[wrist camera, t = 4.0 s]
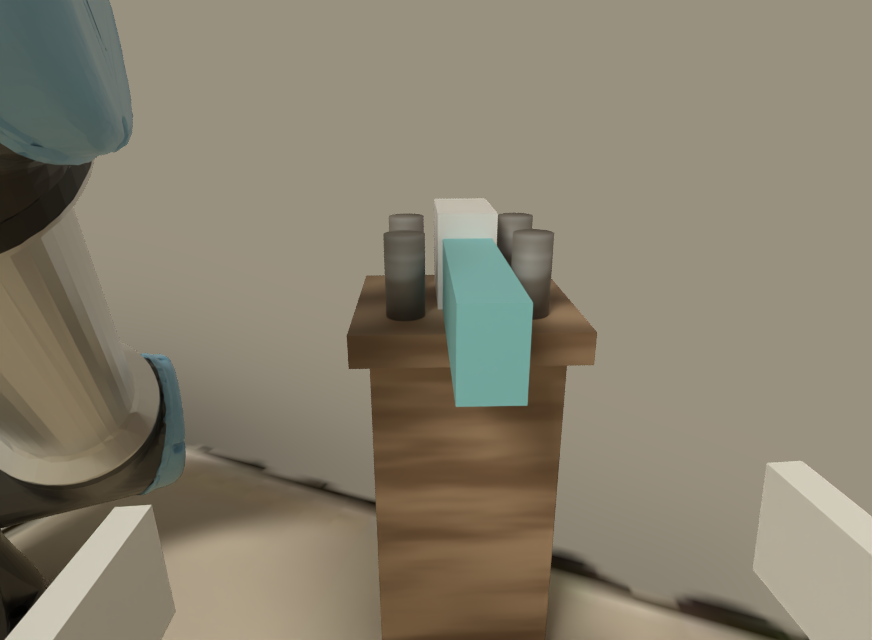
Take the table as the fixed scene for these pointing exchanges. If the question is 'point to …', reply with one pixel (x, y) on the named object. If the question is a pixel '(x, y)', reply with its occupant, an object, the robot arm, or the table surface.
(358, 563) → the table surface
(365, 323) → the wooden pedestal stand
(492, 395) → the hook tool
